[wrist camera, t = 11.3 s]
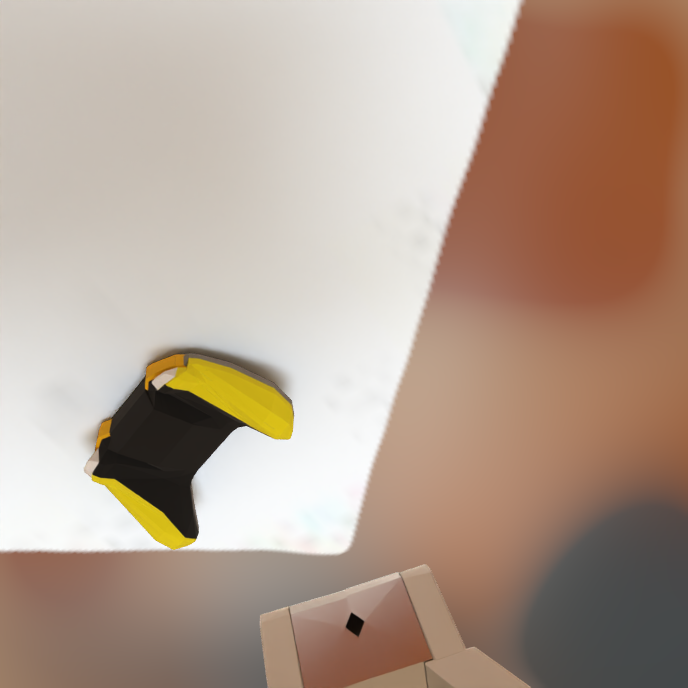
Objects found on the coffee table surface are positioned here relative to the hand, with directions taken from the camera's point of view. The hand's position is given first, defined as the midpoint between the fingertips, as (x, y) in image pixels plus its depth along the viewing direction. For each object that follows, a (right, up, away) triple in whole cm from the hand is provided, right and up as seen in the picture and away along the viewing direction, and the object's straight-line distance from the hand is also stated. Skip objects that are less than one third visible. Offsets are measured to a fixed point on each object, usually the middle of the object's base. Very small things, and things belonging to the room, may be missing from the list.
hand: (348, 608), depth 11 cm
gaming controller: (-12, -1, +35) cm, 37 cm away
